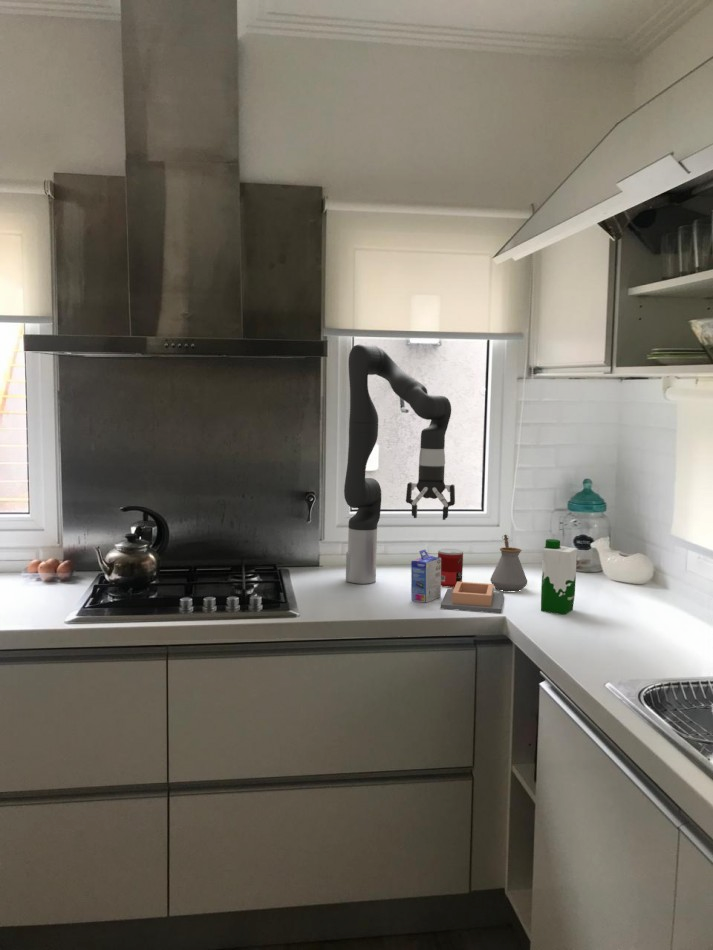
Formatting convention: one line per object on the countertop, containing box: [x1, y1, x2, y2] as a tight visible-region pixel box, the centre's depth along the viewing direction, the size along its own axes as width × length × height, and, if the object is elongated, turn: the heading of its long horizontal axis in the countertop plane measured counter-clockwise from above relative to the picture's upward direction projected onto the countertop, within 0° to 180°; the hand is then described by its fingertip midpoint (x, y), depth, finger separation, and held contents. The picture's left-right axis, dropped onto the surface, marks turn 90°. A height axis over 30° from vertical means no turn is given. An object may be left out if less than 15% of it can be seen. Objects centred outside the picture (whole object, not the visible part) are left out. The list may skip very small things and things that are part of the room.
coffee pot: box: [490, 534, 528, 592], centre depth 266 cm, size 21×12×15 cm, turn 176°
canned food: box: [437, 548, 464, 588], centre depth 266 cm, size 8×8×11 cm
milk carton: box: [540, 538, 578, 616], centre depth 237 cm, size 9×9×20 cm
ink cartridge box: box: [410, 549, 442, 604], centre depth 247 cm, size 10×6×14 cm, turn 148°
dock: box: [439, 581, 505, 614], centre depth 244 cm, size 17×20×4 cm
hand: (429, 518), depth 245 cm, fingers open, 8 cm apart
